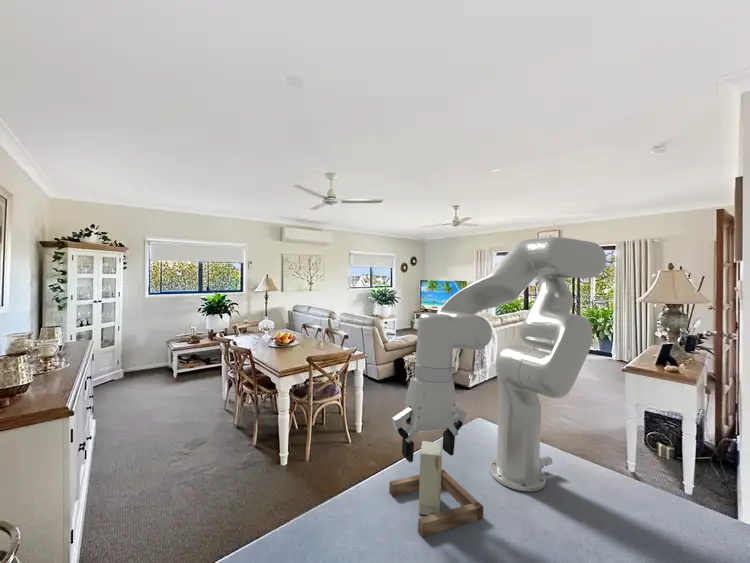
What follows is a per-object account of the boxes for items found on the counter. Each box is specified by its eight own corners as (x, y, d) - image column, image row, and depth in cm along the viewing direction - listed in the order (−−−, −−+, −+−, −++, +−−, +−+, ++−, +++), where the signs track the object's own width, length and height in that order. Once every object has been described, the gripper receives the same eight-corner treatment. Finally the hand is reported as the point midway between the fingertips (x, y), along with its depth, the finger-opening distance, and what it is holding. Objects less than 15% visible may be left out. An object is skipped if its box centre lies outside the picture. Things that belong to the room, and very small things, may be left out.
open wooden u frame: (442, 479, 81) (443, 469, 81) (483, 518, 68) (483, 506, 68) (389, 492, 76) (389, 481, 76) (422, 537, 63) (422, 524, 63)
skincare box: (440, 518, 68) (442, 457, 68) (417, 514, 69) (419, 454, 69) (440, 498, 75) (442, 442, 74) (420, 495, 75) (422, 439, 75)
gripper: (456, 366, 78) (452, 442, 78) (387, 370, 71) (382, 452, 71) (478, 375, 71) (473, 458, 71) (404, 380, 65) (399, 471, 64)
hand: (428, 455), depth 71 cm, fingers open, 9 cm apart
